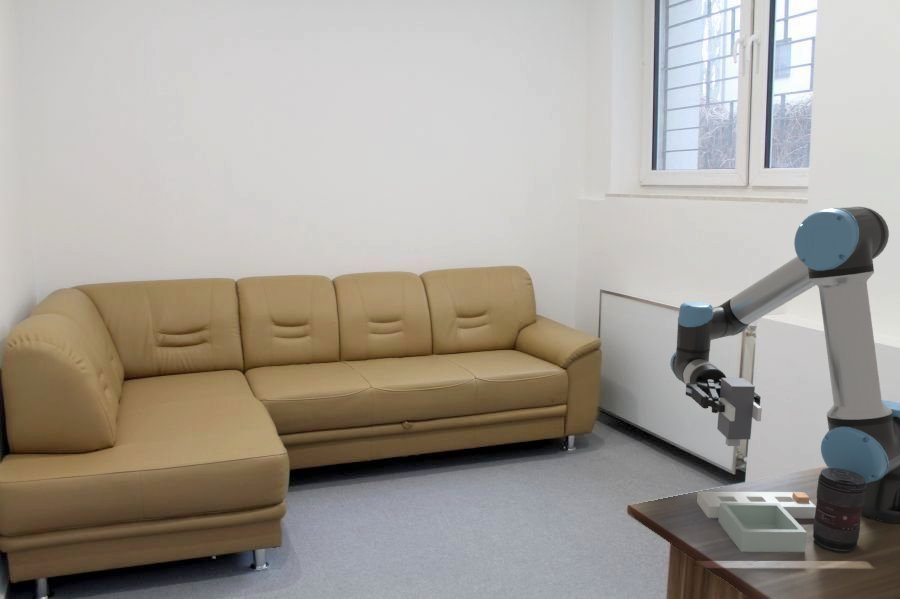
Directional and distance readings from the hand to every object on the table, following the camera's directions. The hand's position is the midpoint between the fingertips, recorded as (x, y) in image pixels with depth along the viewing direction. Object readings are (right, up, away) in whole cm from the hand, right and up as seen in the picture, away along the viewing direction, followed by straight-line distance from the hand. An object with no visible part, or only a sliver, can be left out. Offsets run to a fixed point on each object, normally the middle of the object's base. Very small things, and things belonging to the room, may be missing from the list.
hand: (746, 414), depth 154 cm
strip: (+5, -22, +10) cm, 25 cm away
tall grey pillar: (0, -7, +7) cm, 10 cm away
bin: (+2, -24, -1) cm, 25 cm away
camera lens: (+16, -25, -3) cm, 30 cm away
